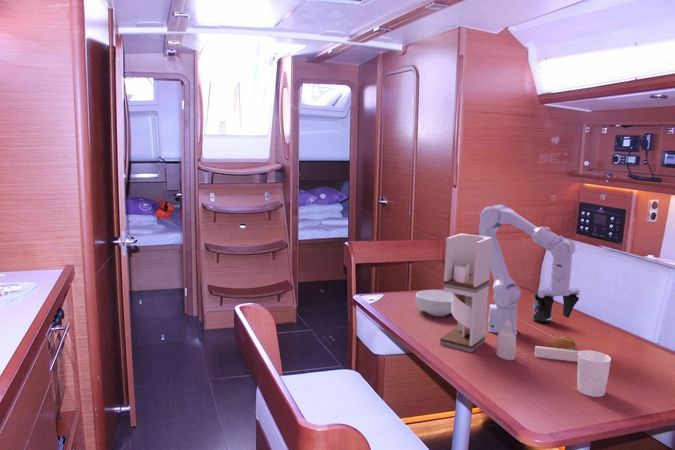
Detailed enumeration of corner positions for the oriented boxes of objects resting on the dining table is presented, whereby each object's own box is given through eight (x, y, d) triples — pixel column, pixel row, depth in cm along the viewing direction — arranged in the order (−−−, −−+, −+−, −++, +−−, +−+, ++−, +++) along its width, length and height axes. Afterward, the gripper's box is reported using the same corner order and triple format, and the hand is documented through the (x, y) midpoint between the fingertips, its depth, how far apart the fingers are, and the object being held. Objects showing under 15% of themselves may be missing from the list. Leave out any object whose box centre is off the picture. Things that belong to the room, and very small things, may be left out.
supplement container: (538, 316, 206) (541, 290, 204) (555, 322, 201) (557, 294, 199) (528, 320, 202) (530, 293, 200) (544, 325, 197) (547, 297, 195)
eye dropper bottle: (508, 353, 169) (511, 316, 167) (515, 361, 164) (519, 323, 162) (495, 353, 169) (498, 316, 167) (501, 361, 163) (504, 323, 162)
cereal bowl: (466, 311, 210) (467, 294, 209) (450, 323, 196) (451, 304, 195) (425, 303, 219) (426, 286, 218) (407, 314, 205) (408, 296, 204)
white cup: (569, 384, 149) (572, 350, 147) (596, 384, 149) (600, 350, 148) (584, 398, 141) (588, 362, 139) (613, 398, 142) (617, 362, 140)
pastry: (563, 356, 169) (564, 345, 168) (543, 350, 174) (544, 338, 173) (578, 350, 175) (579, 338, 174) (558, 343, 180) (559, 332, 179)
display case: (454, 334, 185) (460, 233, 179) (484, 341, 179) (492, 237, 173) (440, 344, 176) (446, 237, 170) (471, 352, 169) (479, 242, 164)
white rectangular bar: (535, 356, 167) (536, 347, 167) (534, 355, 169) (535, 345, 168) (584, 362, 164) (585, 353, 164) (583, 360, 166) (584, 351, 165)
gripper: (549, 281, 170) (545, 322, 172) (588, 279, 174) (583, 319, 176) (535, 275, 177) (531, 315, 179) (572, 273, 181) (568, 312, 183)
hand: (556, 317), depth 178 cm, fingers open, 7 cm apart
